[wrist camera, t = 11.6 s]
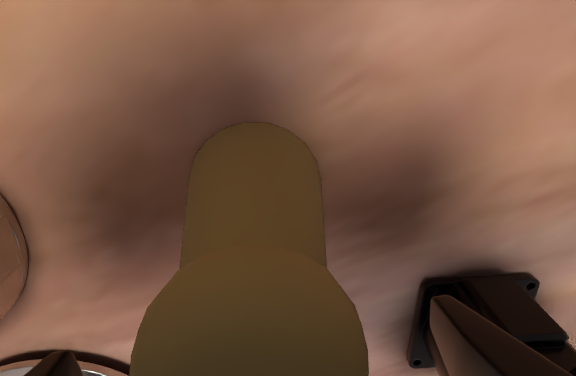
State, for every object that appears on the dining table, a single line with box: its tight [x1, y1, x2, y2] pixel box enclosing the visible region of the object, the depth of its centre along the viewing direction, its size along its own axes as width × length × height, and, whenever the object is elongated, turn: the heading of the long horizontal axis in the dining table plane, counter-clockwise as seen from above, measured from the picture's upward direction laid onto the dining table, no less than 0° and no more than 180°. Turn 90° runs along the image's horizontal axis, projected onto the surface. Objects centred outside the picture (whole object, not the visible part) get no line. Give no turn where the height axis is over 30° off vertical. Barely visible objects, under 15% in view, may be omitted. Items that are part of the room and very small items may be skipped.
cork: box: [130, 122, 369, 376], centre depth 12 cm, size 6×6×11 cm
